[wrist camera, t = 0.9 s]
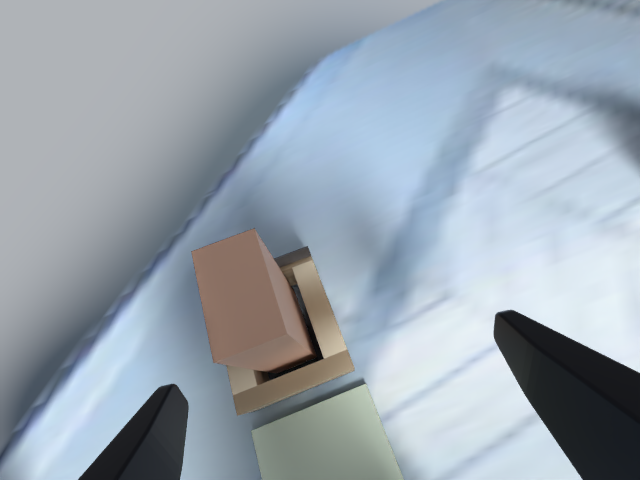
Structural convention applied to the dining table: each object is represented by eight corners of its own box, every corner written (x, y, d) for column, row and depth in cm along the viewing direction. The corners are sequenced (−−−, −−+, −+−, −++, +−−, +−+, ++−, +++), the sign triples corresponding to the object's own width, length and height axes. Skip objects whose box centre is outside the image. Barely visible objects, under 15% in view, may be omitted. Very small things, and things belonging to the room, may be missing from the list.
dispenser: (354, 370, 22) (354, 367, 18) (254, 411, 21) (232, 416, 17) (313, 263, 25) (305, 241, 21) (227, 296, 25) (204, 280, 21)
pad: (420, 521, 18) (421, 524, 18) (287, 580, 17) (286, 584, 17) (365, 383, 21) (365, 383, 21) (252, 430, 21) (250, 430, 20)
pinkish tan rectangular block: (317, 357, 22) (287, 333, 12) (277, 373, 22) (213, 363, 12) (295, 292, 24) (254, 228, 14) (258, 307, 24) (191, 251, 14)
